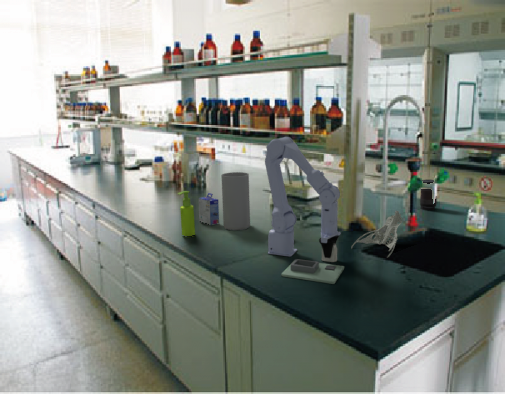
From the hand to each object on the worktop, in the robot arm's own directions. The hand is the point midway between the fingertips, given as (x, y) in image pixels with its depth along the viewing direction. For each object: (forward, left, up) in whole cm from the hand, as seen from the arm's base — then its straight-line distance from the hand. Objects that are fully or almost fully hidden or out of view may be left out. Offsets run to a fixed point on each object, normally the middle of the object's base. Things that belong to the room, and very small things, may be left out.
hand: (328, 255), depth 158 cm
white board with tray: (-2, -13, -2) cm, 13 cm away
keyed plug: (0, 0, -2) cm, 2 cm away
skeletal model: (+16, +24, -2) cm, 29 cm away
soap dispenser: (-66, +8, -2) cm, 67 cm away
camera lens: (+29, +90, -2) cm, 95 cm away
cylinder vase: (-51, +27, -2) cm, 58 cm away
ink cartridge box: (-67, +29, -2) cm, 73 cm away
